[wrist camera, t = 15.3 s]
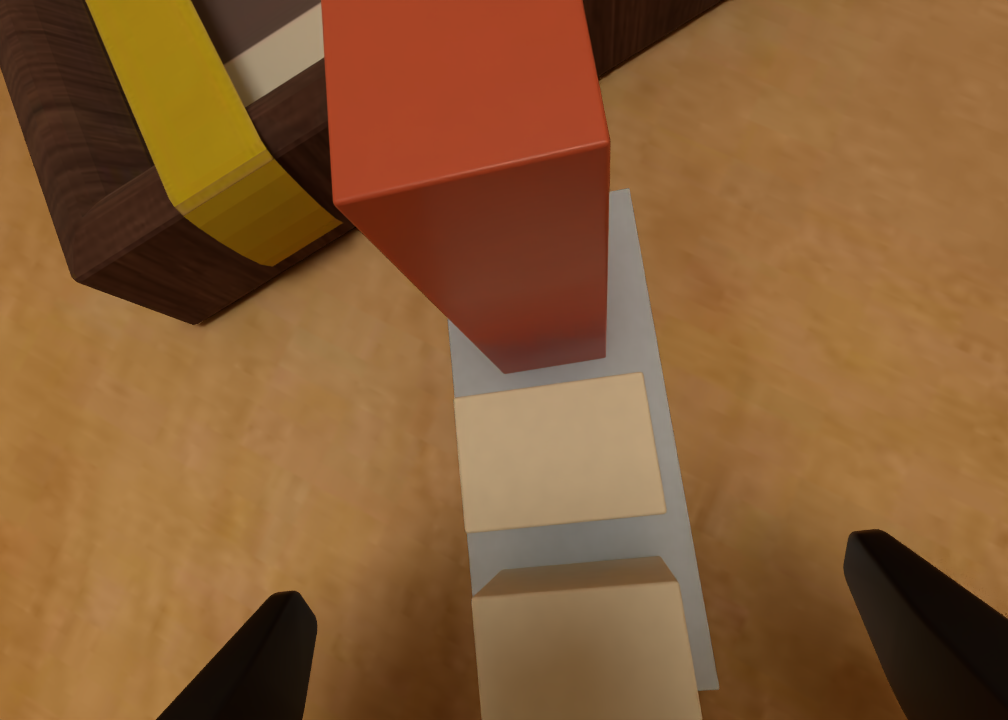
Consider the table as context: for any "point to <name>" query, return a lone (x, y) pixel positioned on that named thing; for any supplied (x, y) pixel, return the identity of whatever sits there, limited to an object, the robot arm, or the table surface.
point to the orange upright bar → (478, 164)
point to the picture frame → (202, 134)
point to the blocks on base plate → (581, 524)
